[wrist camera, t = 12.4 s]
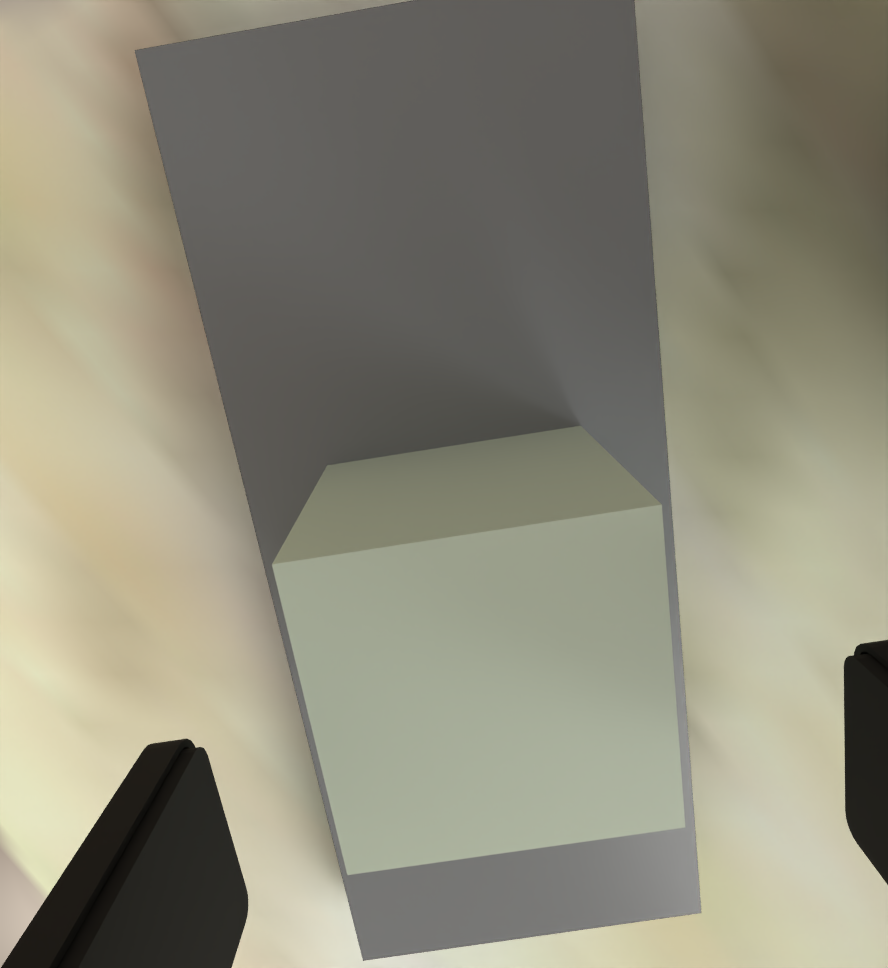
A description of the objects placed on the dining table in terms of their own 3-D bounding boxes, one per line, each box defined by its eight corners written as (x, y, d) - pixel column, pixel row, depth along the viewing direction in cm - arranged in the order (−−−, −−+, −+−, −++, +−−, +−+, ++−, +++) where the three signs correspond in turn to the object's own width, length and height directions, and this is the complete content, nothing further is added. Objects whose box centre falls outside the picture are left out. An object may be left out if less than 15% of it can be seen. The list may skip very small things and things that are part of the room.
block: (581, 425, 16) (662, 504, 11) (604, 652, 18) (684, 827, 12) (327, 465, 17) (271, 564, 11) (374, 686, 18) (347, 875, 12)
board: (607, 0, 16) (631, -40, 14) (678, 858, 22) (701, 912, 20) (170, 77, 16) (134, 49, 14) (368, 903, 23) (363, 960, 21)
